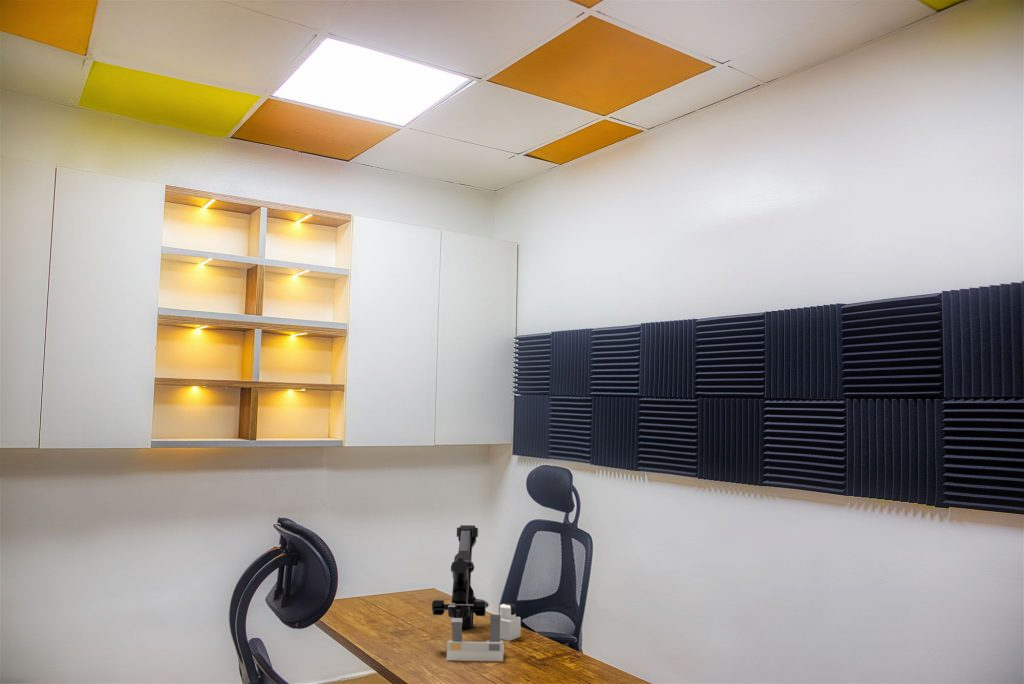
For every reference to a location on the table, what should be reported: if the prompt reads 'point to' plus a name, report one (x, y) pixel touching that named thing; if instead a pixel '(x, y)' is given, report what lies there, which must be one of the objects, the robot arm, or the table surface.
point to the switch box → (475, 651)
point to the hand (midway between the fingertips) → (457, 630)
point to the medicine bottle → (509, 622)
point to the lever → (495, 628)
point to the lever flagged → (456, 629)
